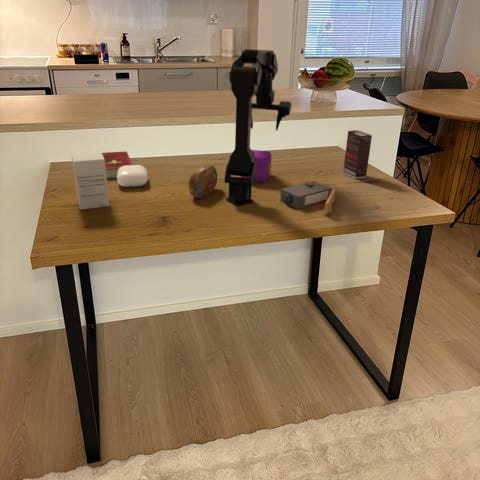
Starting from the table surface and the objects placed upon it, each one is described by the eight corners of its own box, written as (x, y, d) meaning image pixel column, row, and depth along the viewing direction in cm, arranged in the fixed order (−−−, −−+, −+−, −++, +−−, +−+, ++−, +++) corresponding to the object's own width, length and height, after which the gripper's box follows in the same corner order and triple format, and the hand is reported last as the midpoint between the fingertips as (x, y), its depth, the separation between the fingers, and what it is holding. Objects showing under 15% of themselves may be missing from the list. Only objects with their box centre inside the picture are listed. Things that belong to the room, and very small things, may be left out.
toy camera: (271, 172, 179) (273, 145, 174) (270, 184, 167) (271, 156, 162) (243, 170, 180) (243, 144, 175) (239, 182, 167) (240, 154, 163)
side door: (330, 215, 142) (331, 204, 140) (324, 214, 142) (325, 203, 140) (337, 199, 153) (338, 189, 152) (331, 198, 154) (333, 188, 152)
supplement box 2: (366, 178, 174) (372, 135, 167) (355, 179, 173) (361, 136, 166) (353, 171, 181) (358, 129, 174) (342, 172, 180) (347, 130, 173)
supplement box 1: (77, 199, 150) (70, 152, 143) (106, 196, 153) (101, 150, 146) (79, 210, 142) (72, 161, 135) (110, 206, 145) (105, 158, 138)
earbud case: (117, 190, 158) (115, 174, 156) (117, 177, 170) (116, 163, 167) (148, 188, 160) (147, 173, 158) (147, 176, 172) (146, 161, 169)
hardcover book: (128, 160, 189) (127, 150, 187) (134, 177, 171) (133, 166, 169) (97, 162, 186) (95, 152, 184) (99, 180, 168) (98, 168, 166)
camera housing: (294, 209, 146) (296, 195, 144) (277, 201, 152) (278, 188, 150) (329, 200, 154) (331, 186, 152) (312, 192, 160) (313, 179, 158)
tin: (196, 201, 150) (195, 176, 146) (187, 200, 151) (186, 174, 148) (218, 187, 162) (218, 163, 159) (209, 186, 164) (209, 162, 160)
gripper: (294, 80, 169) (293, 121, 179) (242, 77, 172) (244, 117, 182) (289, 92, 160) (288, 134, 170) (235, 89, 164) (237, 131, 174)
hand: (264, 129), depth 174 cm, fingers open, 9 cm apart
